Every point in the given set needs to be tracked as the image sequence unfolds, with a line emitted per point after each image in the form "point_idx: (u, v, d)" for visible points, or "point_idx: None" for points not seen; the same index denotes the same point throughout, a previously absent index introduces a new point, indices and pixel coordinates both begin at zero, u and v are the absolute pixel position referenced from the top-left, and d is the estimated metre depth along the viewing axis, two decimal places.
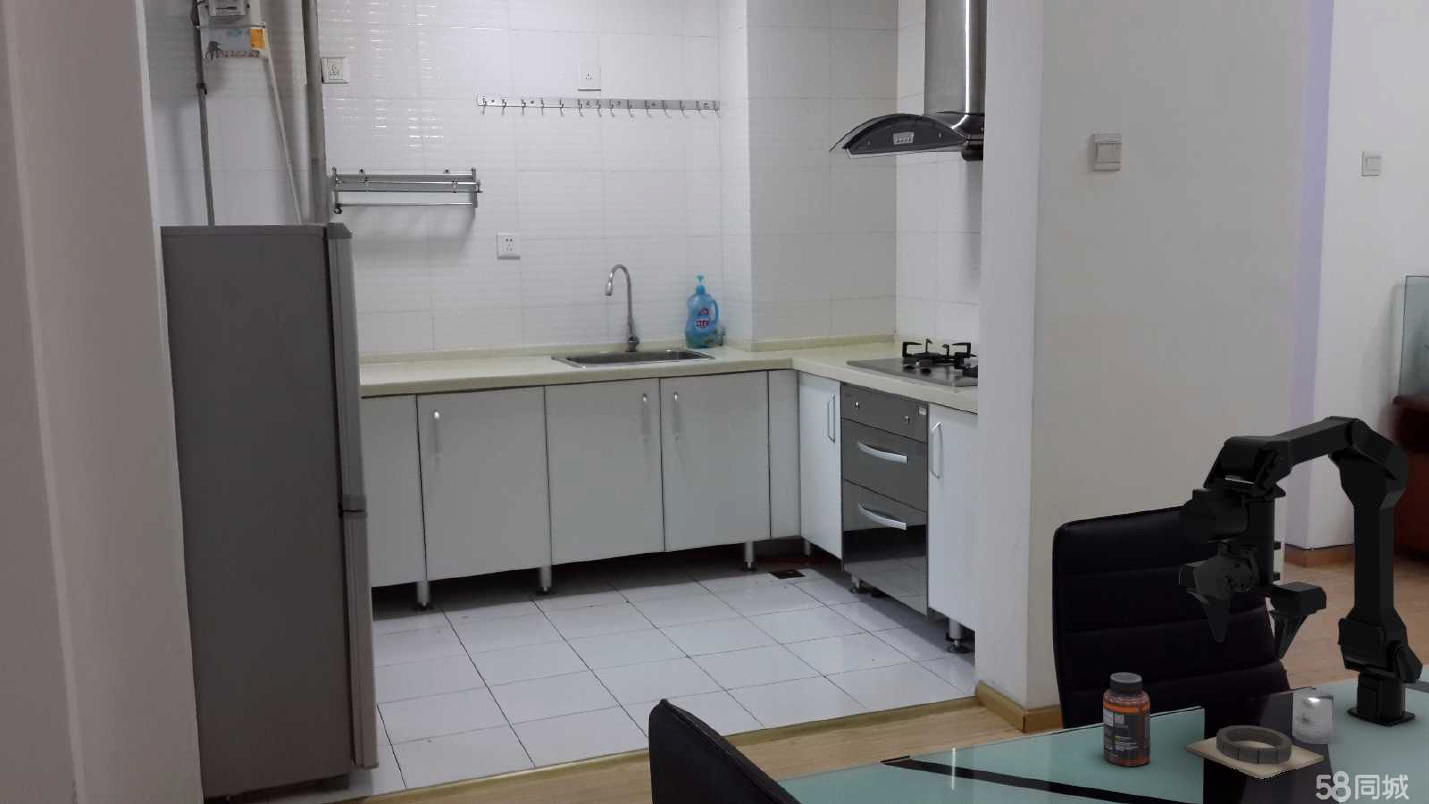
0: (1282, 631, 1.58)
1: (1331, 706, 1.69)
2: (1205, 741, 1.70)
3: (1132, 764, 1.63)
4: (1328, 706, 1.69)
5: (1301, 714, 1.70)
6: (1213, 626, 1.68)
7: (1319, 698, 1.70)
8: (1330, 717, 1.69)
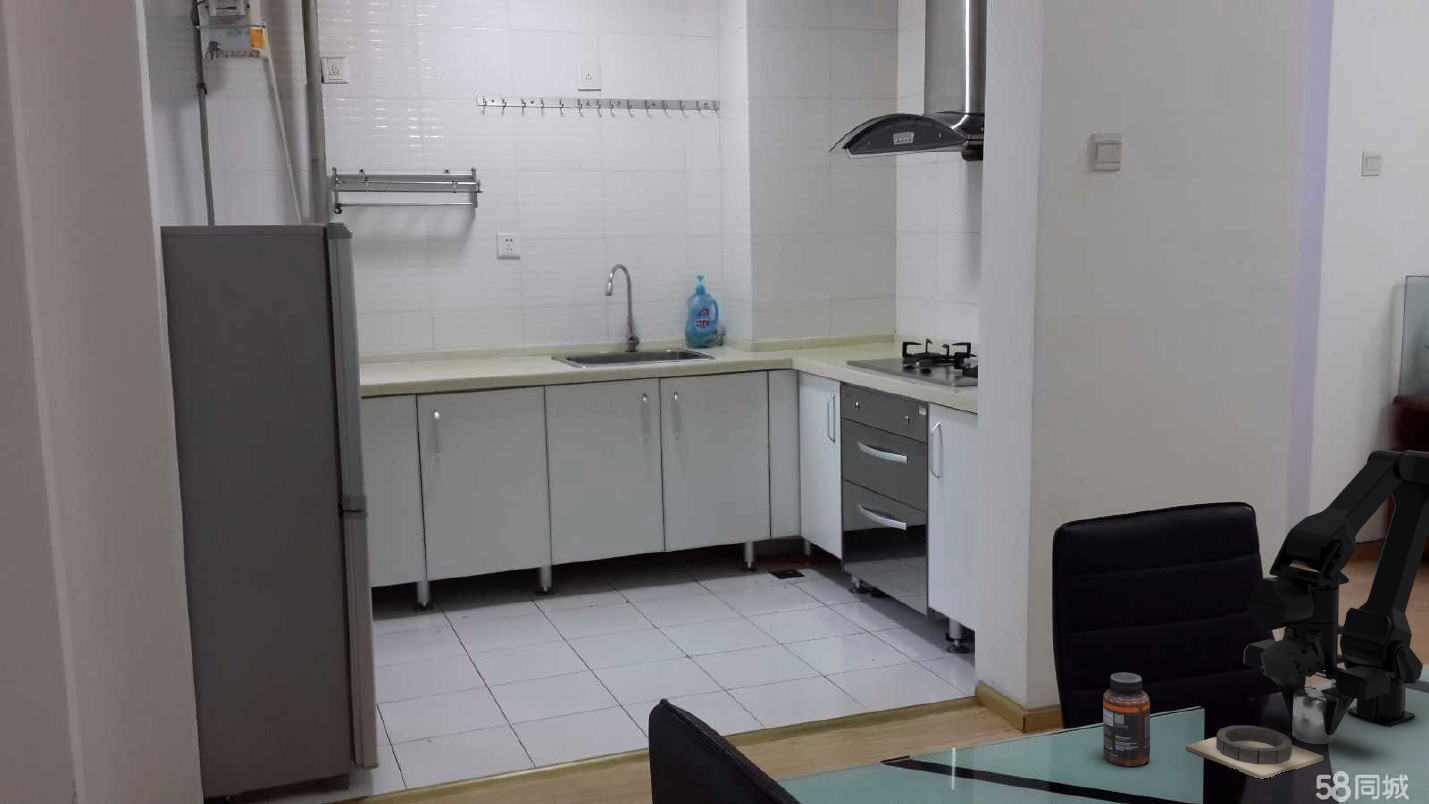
0: (1334, 709, 1.67)
1: None
2: (1205, 741, 1.70)
3: (1132, 764, 1.63)
4: None
5: (1301, 714, 1.70)
6: (1289, 708, 1.74)
7: (1319, 698, 1.70)
8: None
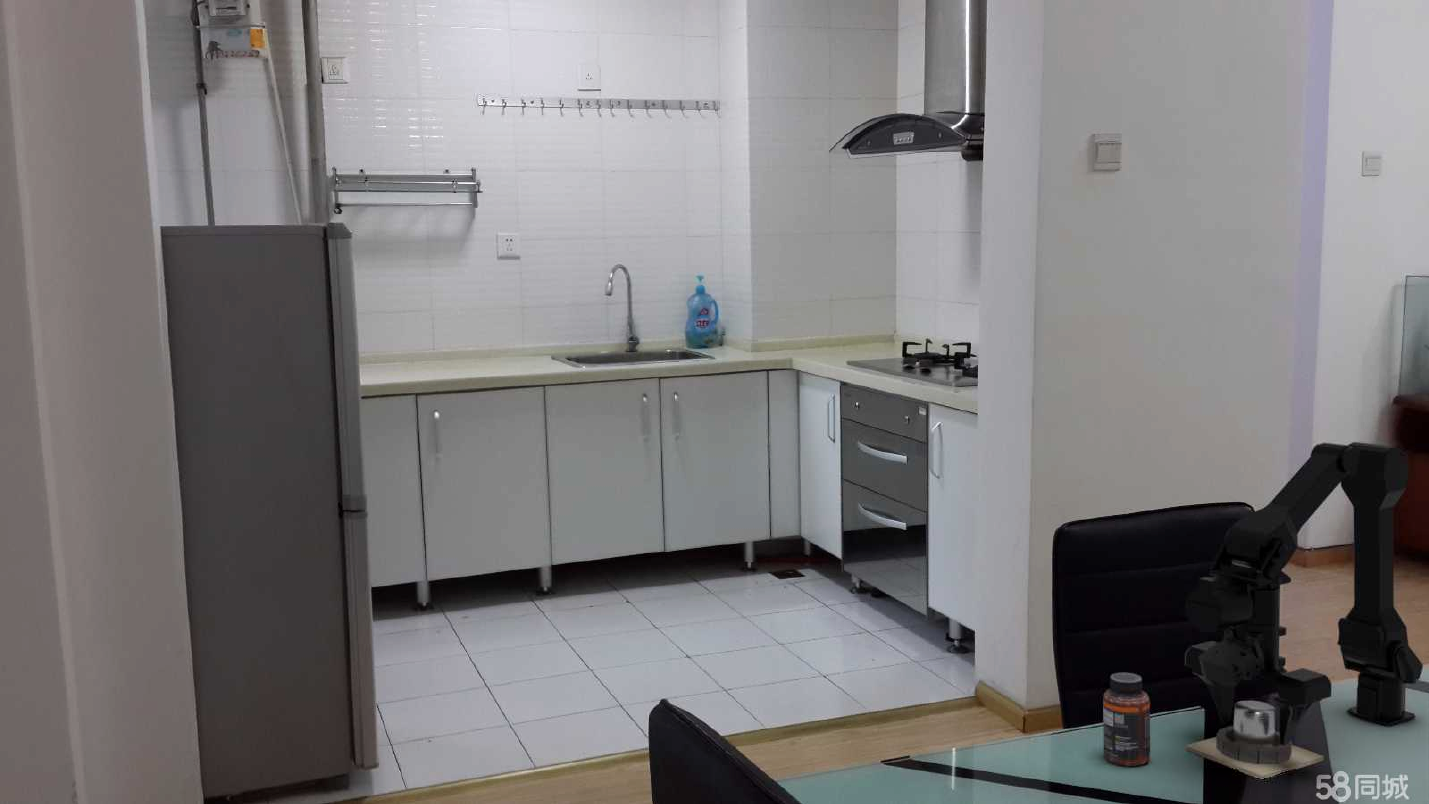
0: (1287, 718, 1.60)
1: (1272, 718, 1.64)
2: (1205, 741, 1.70)
3: (1132, 764, 1.63)
4: (1269, 718, 1.63)
5: (1242, 727, 1.65)
6: (1219, 708, 1.70)
7: (1260, 710, 1.64)
8: (1271, 730, 1.64)
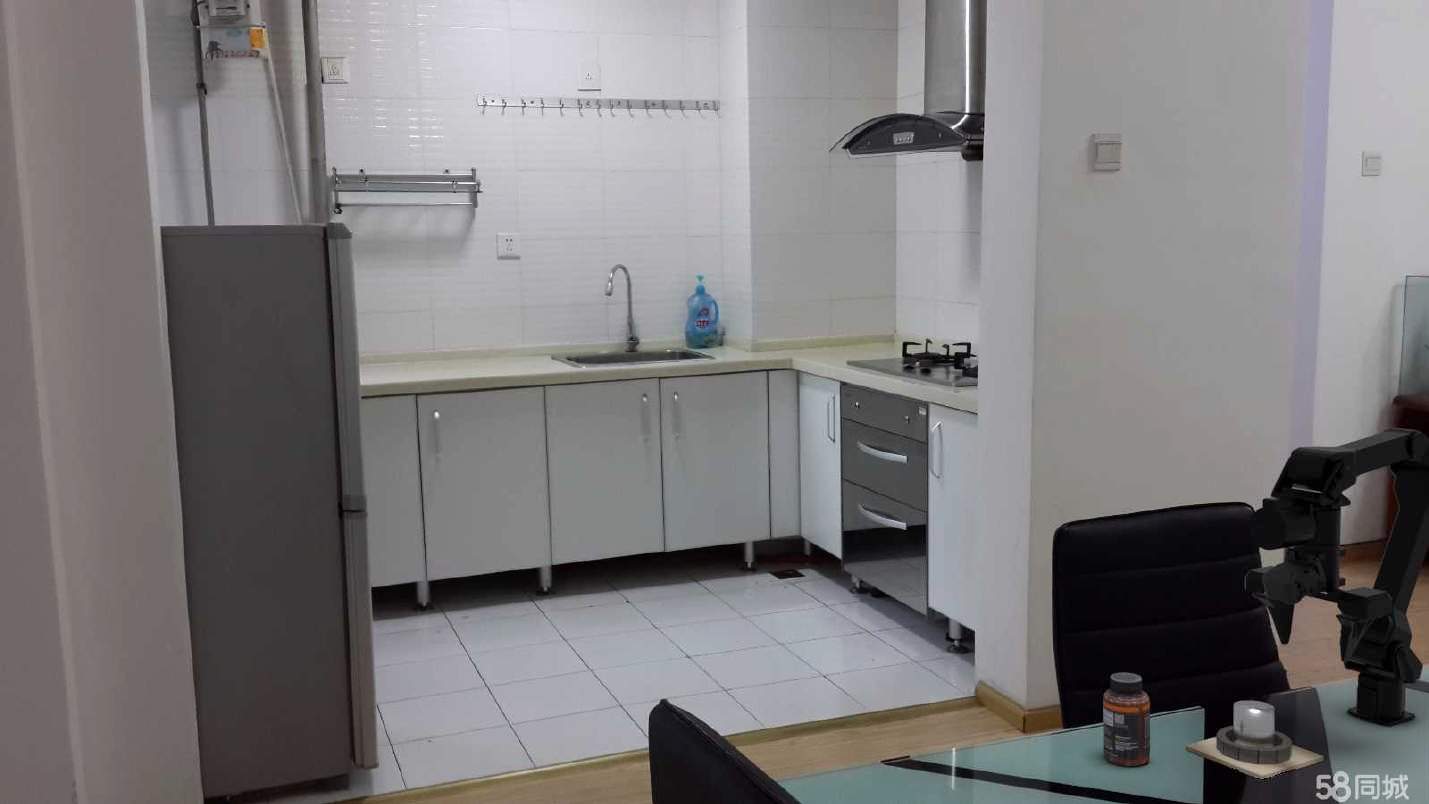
0: (1349, 634, 1.64)
1: (1271, 718, 1.64)
2: (1205, 741, 1.70)
3: (1132, 764, 1.63)
4: (1268, 718, 1.63)
5: (1241, 726, 1.65)
6: (1278, 629, 1.74)
7: (1259, 709, 1.64)
8: (1270, 729, 1.64)
